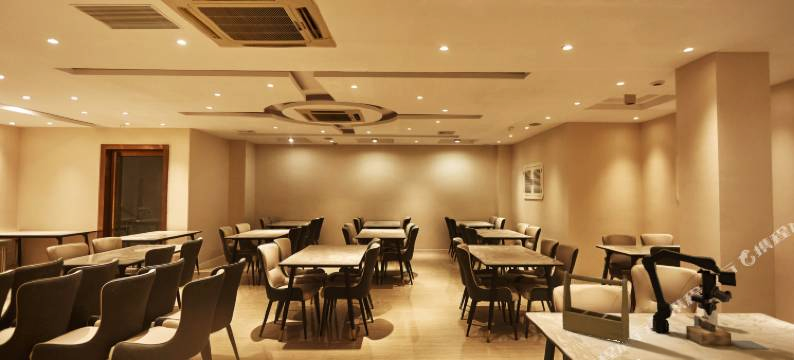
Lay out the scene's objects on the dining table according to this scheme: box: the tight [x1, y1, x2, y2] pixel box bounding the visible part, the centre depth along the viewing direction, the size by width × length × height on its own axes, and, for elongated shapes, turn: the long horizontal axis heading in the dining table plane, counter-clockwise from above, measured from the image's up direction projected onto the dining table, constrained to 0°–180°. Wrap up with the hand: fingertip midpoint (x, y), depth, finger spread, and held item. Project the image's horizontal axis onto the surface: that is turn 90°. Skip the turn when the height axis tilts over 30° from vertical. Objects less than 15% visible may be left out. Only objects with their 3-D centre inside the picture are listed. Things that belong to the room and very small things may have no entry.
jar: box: [696, 302, 719, 328], centre depth 218 cm, size 9×8×12 cm
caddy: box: [561, 270, 630, 344], centre depth 204 cm, size 29×11×30 cm, turn 47°
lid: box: [685, 321, 732, 336], centre depth 194 cm, size 14×10×5 cm
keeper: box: [693, 316, 708, 326], centre depth 204 cm, size 5×3×9 cm, turn 90°
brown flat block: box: [685, 327, 732, 347], centre depth 194 cm, size 14×10×5 cm
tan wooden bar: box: [685, 312, 709, 323], centre depth 207 cm, size 2×13×2 cm, turn 0°
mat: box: [731, 339, 770, 350], centre depth 190 cm, size 13×10×1 cm
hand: (709, 315), depth 195 cm, fingers closed
